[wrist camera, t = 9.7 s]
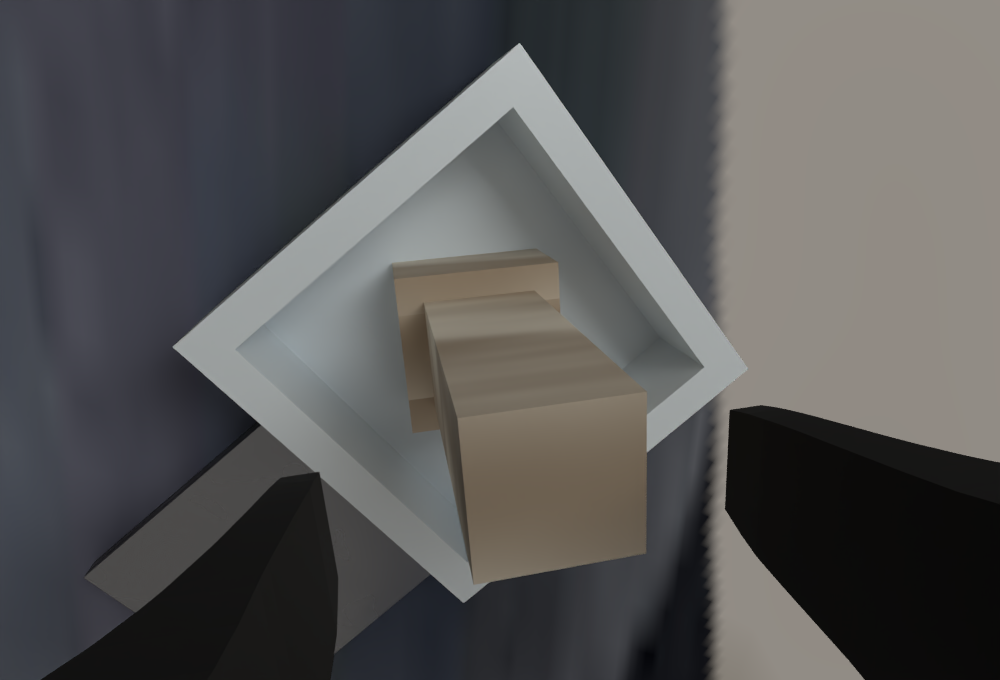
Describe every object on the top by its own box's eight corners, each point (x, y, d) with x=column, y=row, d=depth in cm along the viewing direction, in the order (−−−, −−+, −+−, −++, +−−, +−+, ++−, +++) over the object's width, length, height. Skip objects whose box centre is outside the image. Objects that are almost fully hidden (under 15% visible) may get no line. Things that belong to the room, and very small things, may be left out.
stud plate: (437, 552, 23) (446, 607, 20) (275, 687, 23) (261, 759, 20) (275, 406, 20) (258, 446, 17) (94, 561, 20) (50, 625, 18)
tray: (684, 331, 22) (748, 368, 18) (449, 527, 22) (463, 603, 19) (490, 64, 18) (519, 43, 14) (214, 307, 19) (172, 347, 15)
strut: (542, 381, 20) (683, 579, 11) (408, 399, 20) (435, 628, 10) (536, 248, 19) (689, 343, 10) (392, 263, 18) (404, 380, 9)
